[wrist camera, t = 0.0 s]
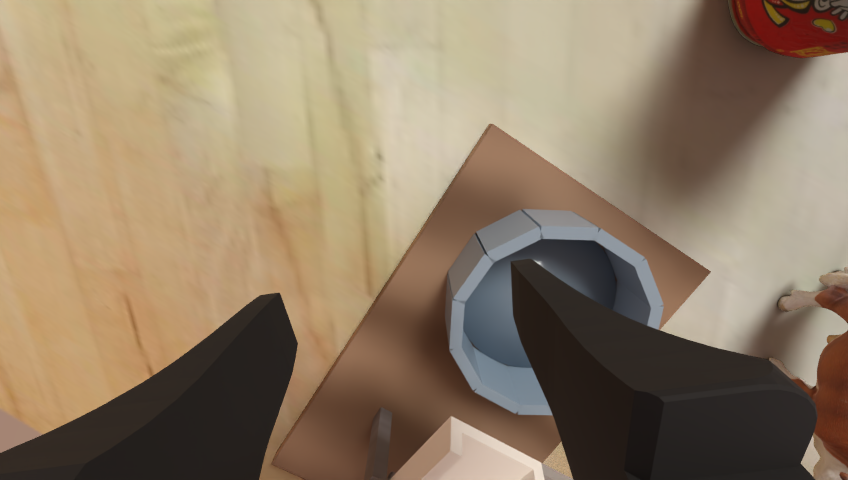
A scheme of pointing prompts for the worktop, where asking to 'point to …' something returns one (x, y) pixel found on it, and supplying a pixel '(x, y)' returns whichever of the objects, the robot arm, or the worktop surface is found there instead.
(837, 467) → the bull figurine
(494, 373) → the bowl
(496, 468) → the tilted wooden ramp
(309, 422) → the base board
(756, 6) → the soda can
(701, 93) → the worktop surface
